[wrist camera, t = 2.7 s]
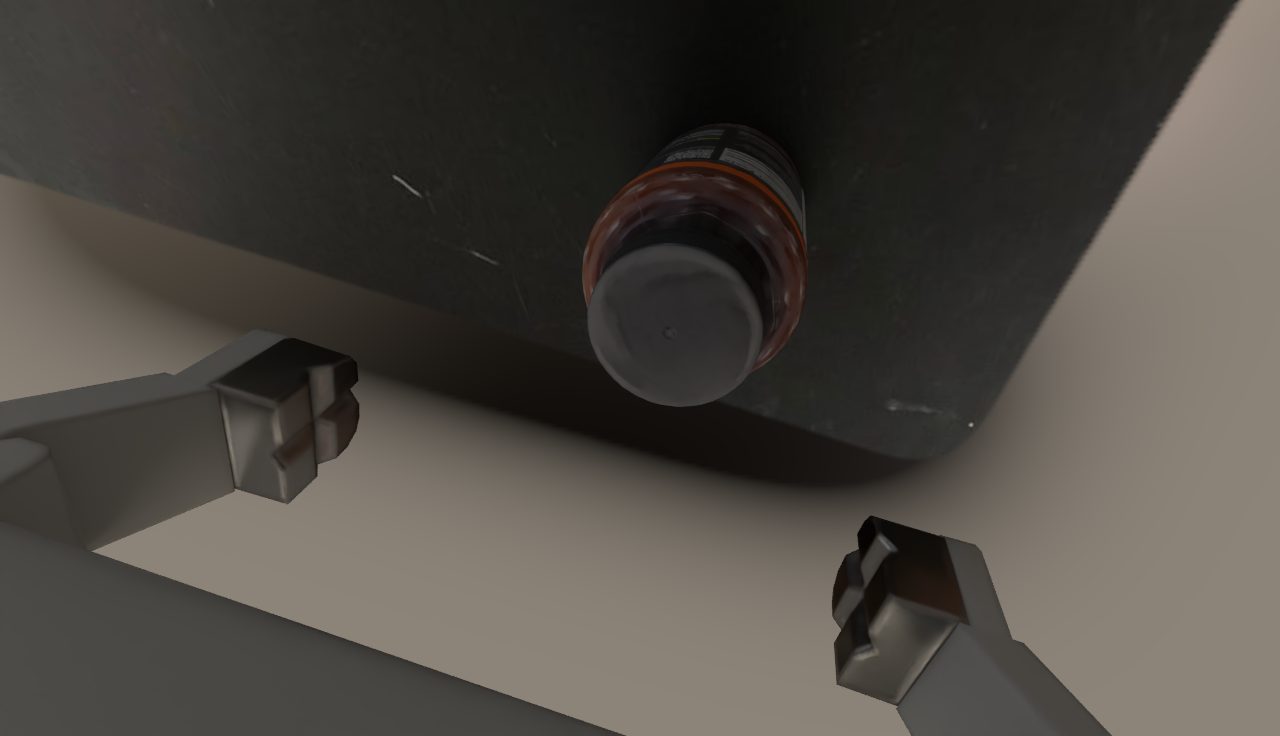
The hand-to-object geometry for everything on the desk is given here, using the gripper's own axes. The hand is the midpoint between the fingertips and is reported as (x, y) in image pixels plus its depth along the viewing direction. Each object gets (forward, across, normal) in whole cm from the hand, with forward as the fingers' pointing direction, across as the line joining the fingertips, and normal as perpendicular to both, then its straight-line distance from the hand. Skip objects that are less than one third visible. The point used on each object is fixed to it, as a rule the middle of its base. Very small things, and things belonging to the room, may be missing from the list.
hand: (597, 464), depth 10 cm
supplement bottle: (+16, 0, 0) cm, 16 cm away
